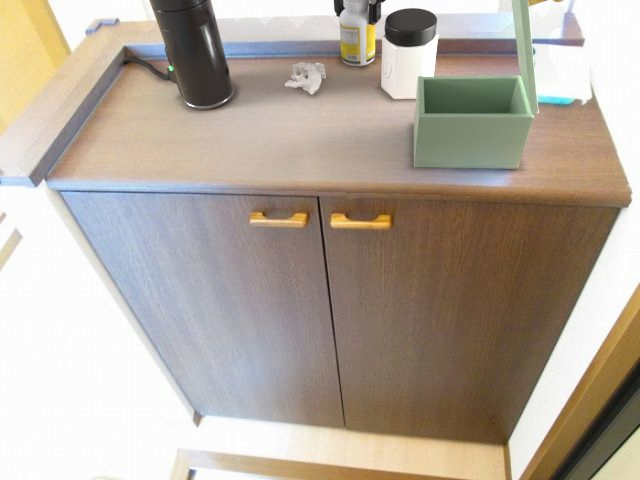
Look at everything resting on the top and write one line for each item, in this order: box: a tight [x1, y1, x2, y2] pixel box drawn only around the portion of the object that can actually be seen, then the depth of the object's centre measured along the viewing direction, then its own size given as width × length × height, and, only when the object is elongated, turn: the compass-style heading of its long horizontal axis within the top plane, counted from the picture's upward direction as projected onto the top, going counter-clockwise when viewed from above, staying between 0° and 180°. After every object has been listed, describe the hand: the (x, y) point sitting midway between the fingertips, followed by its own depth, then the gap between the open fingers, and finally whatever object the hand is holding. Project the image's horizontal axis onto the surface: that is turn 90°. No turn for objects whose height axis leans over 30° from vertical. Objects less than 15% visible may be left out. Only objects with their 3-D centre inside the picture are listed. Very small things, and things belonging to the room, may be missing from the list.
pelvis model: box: [284, 61, 327, 96], centre depth 84 cm, size 8×4×7 cm
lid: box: [511, 0, 564, 115], centre depth 56 cm, size 15×10×5 cm
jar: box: [380, 7, 439, 100], centre depth 77 cm, size 9×8×12 cm
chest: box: [413, 74, 535, 170], centre depth 67 cm, size 15×10×9 cm
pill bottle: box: [338, 0, 376, 67], centre depth 85 cm, size 6×6×12 cm
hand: (357, 19), depth 84 cm, fingers closed on pill bottle, 6 cm apart
